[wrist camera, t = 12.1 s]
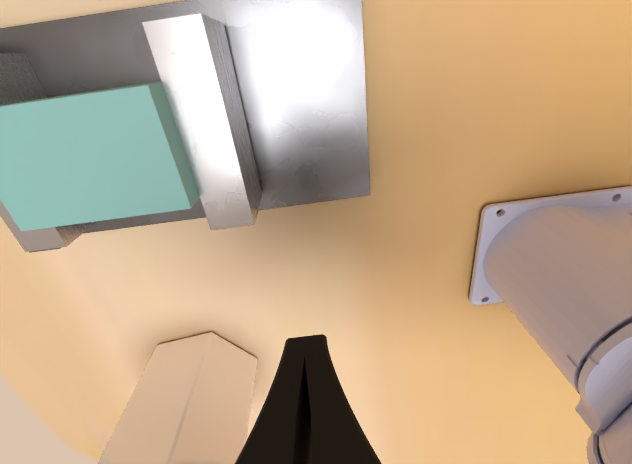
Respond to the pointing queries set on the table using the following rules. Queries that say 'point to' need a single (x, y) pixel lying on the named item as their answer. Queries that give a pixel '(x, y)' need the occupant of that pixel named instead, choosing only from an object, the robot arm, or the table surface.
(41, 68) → the vise
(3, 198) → the block
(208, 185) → the jaw
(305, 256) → the table surface
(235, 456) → the jar
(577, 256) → the robot arm
